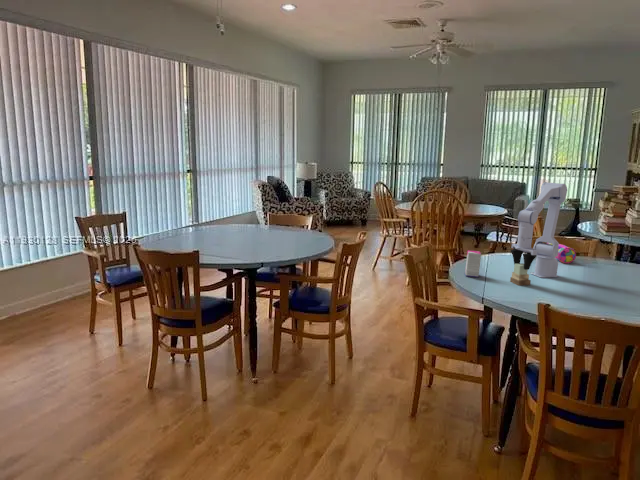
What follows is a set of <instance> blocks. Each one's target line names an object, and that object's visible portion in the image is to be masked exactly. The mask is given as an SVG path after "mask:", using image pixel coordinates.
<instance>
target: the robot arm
mask: <svg viewBox="0 0 640 480" xmlns="http://www.w3.org/2000/svg"><path fill="white" fill-rule="evenodd" d="M567 194H568V186H567V185H566V183H560V182H559V183H558V182H557V183H556V182H549V181H548V182H547V181H544V182H543V183H542V184H541V186H540V193H539V194H538V196H537V198H536V199H533V200H531V201H530V203H529V204H528V205H527V207H526V208H525V209H522V210H520V211H519V212H518V215H517V222H518V224H517V225H518V233H517V234H518V235H517V243H511V249H510V253H511V254H512V258H513V265H514V266H515V264H521V260H522V257H523V264H524V269H525V270H528V271H529V270H530V267H531V266H532V263H533V261H534V260H535V259H536V260H535V266H534V271H533V272H530V274H531V275H534V276H535V277H539V278H541V279H542V278H558V277H559V276H558V269H559V261H558V260H557V259H556V258H555V257H556V256H557V255H558V251H559V249H558V247H559V244H560V243H559V241H558V240H557V239H556V238H555V233H556V229H557V224H558V220H559V216H560V215H559V214H560V210H561V206H562V203H565V201H566V198H567ZM547 202H548V208H547V214H546V217H545V221H544V222H545V223H544V227H543V232H542V236H540V237H538V238H536V239H535V243H534V244H533V247H532V243H533V236H534V235H533V234H534V226H535V224H536V223H537V221H538V217H539V215H540V214H541V211H543V209H544V207H545V206H544V204H545V203H547ZM547 243H551V244H552V245H551V244H547Z"/></svg>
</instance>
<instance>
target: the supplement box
mask: <svg viewBox="0 0 640 480" xmlns="http://www.w3.org/2000/svg"><path fill="white" fill-rule="evenodd" d="M466 253H467V254H466V260H465V261H466V262H465V267H464V268H465V269H464V270H465V271H464V275H465V278H477V279H478V278H479V275H480V267H481V257H482V253H481V251H477V250H467V251H466Z"/></svg>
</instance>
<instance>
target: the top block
mask: <svg viewBox="0 0 640 480" xmlns="http://www.w3.org/2000/svg"><path fill="white" fill-rule="evenodd" d="M528 271H529V270H525V269H524V262H523V263H521V262H520V264H515V265H514V267H513V272H514V273H516V274H518V275H527V274H528Z"/></svg>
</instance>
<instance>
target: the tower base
mask: <svg viewBox="0 0 640 480" xmlns="http://www.w3.org/2000/svg"><path fill="white" fill-rule="evenodd" d="M509 282H510V283H512V284H514V285H517V286H519V287H520V286H531V279H529V280H517V279H514V278H512V276H511V277H510V281H509Z"/></svg>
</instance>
